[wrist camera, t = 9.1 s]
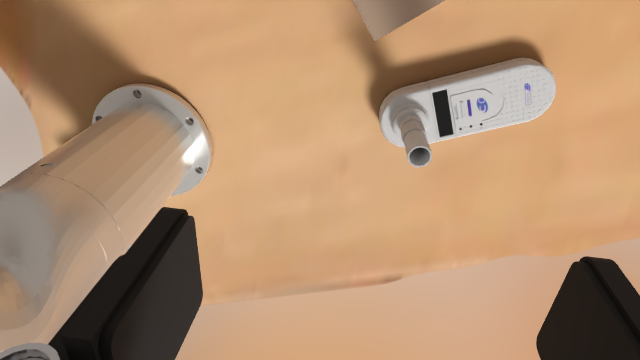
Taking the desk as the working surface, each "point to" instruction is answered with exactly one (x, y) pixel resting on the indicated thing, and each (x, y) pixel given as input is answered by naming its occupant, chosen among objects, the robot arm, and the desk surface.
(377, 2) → the board
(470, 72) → the electronic device
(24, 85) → the desk surface
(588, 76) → the desk surface
